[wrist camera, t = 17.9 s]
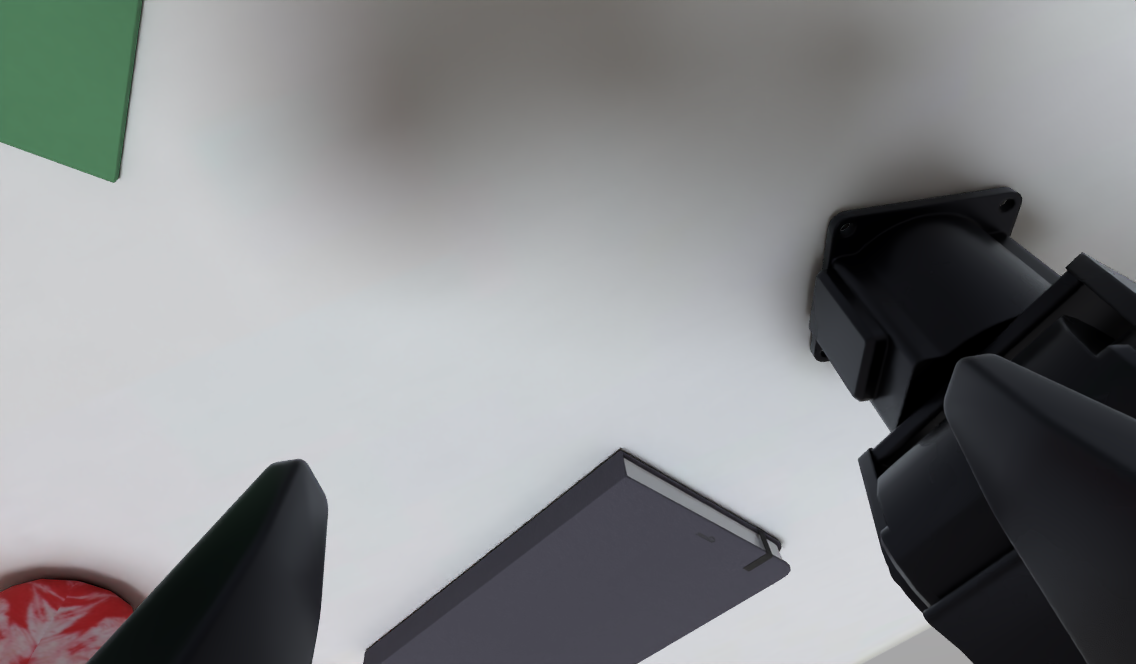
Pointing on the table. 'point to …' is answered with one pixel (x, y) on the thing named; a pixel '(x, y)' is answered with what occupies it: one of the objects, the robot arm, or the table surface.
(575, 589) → the notebook
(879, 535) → the robot arm
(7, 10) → the cloth
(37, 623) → the water bottle
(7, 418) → the table surface
